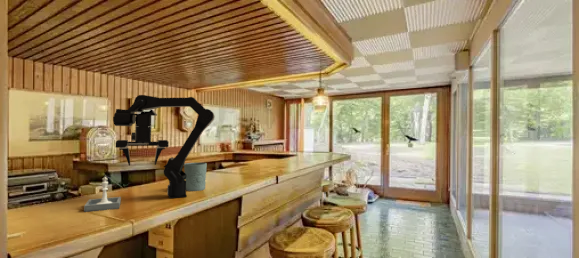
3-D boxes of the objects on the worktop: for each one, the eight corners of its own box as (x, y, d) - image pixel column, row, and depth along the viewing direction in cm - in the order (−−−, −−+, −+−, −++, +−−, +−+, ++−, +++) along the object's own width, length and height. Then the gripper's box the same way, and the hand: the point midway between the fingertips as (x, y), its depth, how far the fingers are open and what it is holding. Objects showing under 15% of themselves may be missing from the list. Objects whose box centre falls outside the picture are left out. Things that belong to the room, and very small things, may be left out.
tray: (120, 202, 106) (120, 196, 106) (119, 208, 97) (119, 202, 97) (88, 204, 101) (89, 199, 101) (84, 212, 93) (84, 205, 93)
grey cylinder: (202, 191, 126) (202, 164, 126) (179, 191, 127) (180, 164, 127) (209, 187, 136) (209, 162, 137) (188, 186, 137) (188, 162, 137)
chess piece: (101, 203, 102) (102, 175, 102) (115, 203, 102) (116, 175, 102) (92, 207, 97) (93, 177, 97) (107, 207, 97) (108, 177, 97)
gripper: (166, 127, 126) (165, 162, 126) (117, 126, 117) (117, 163, 117) (169, 127, 116) (168, 165, 116) (115, 125, 107) (114, 166, 107)
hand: (142, 165), depth 114 cm, fingers open, 9 cm apart
